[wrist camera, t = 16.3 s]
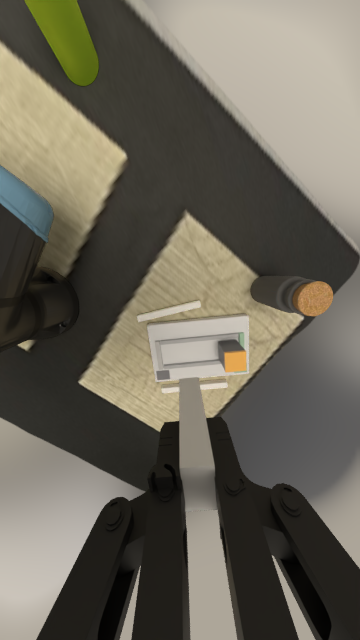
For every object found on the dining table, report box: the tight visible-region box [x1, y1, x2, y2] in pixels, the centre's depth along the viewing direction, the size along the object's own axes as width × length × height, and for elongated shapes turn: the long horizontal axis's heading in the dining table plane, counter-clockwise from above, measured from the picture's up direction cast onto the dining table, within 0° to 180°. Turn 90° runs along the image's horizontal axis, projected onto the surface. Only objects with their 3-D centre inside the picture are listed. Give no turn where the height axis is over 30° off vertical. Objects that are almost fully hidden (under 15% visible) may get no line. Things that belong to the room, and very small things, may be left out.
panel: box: [147, 314, 249, 382], centre depth 40 cm, size 22×14×3 cm, turn 96°
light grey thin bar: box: [137, 300, 201, 322], centre depth 39 cm, size 14×1×1 cm, turn 104°
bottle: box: [251, 276, 333, 316], centre depth 31 cm, size 6×6×15 cm
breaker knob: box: [218, 340, 246, 372], centre depth 36 cm, size 4×4×6 cm
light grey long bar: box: [161, 379, 227, 393], centre depth 43 cm, size 16×1×1 cm, turn 96°
